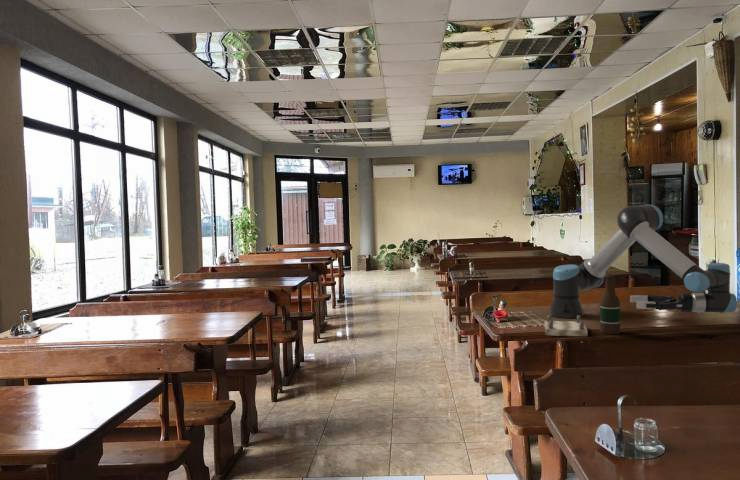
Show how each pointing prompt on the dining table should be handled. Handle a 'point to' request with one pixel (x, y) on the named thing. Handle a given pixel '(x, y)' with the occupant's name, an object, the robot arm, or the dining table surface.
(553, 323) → the condiment stand
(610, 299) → the beer bottle
